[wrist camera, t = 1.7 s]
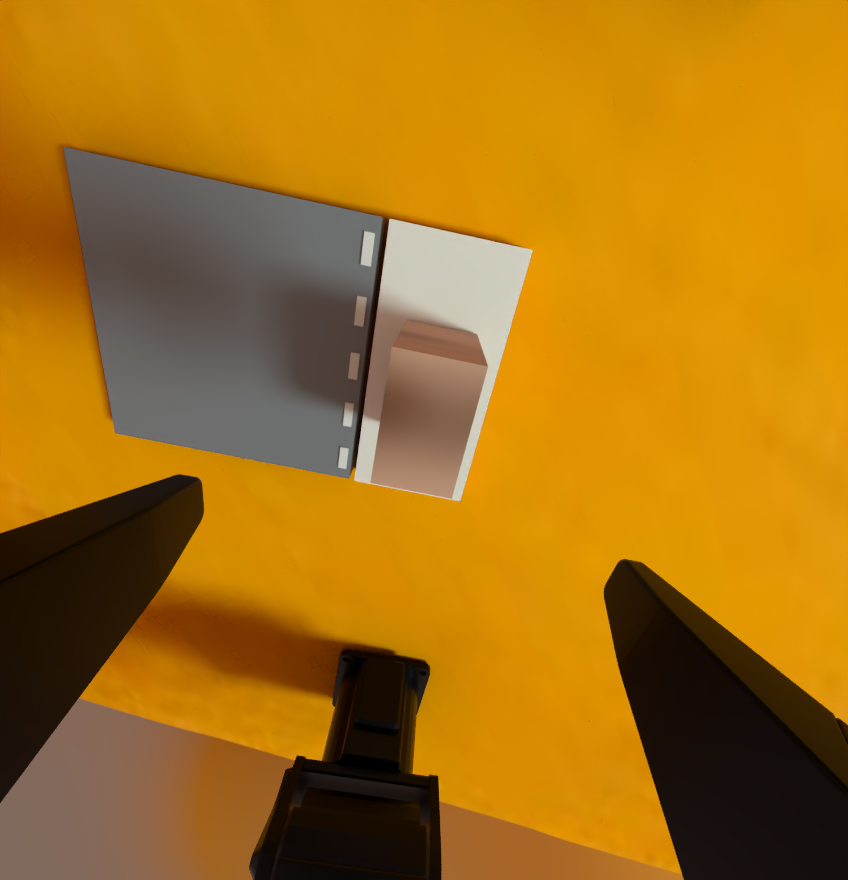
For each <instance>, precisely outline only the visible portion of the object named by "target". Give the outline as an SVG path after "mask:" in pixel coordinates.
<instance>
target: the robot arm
mask: <svg viewBox="0 0 848 880" xmlns="http://www.w3.org/2000/svg"><path fill="white" fill-rule="evenodd" d="M203 514H204V502H203V489H202V482H201V480H200V479H199V478H197V477H192V476H187V475H181V474H179V475H175V476H172V477H169V478H166V479H163V480H160V481H157V482H154V483H151V484H148V485H145V486H142V487H138V488H135V489H132V490H129V491H126V492H123V493H120V494H117V495H114V496H111V497H108V498H105V499H102V500H99V501H96V502H93V503H90V504H87V505H84V506H81V507H78V508H75V509H72V510H69V511H66V512H63V513H60V514H57V515H54V516H51V517H48V518H45V519H42V520H39V521H36V522H33V523H30V524H27V525H24V526H21V527H18V528H15V529H12V530H9V531H6V532H3V533H0V803H1V801H2V800H3V798H4V797H5V796H6V795H7V793H8V792H9V791H10V789H11V788H12V787H13V785H14V784H15V783H16V781H17V780H18V779H19V777H20V776H21V775H22V773H23V772H24V771H25V769H26V768H27V767H28V765H29V764H30V762H31V761H32V760H33V758H34V757H35V755H36V754H37V753H38V752H39V750H40V749H41V748H42V746H43V745H44V744H45V742H46V741H47V740H48V738H49V737H50V736H51V734H52V733H53V732H54V730H55V729H56V728H57V726H58V725H59V724H60V722H61V721H62V720H63V718H64V717H65V716H66V714H67V713H68V712H69V710H70V709H71V707H72V706H73V705H74V704H75V702H76V701H77V699H78V698H79V697H80V695H81V694H82V693H83V691H84V690H85V689H86V687H87V686H88V685H89V683H90V682H91V681H92V679H93V678H94V677H95V675H96V674H97V673H98V671H99V670H100V669H101V667H102V666H103V665H104V663H105V662H106V661H107V659H108V658H109V657H110V655H111V654H112V653H113V651H114V650H115V649H116V647H117V646H118V645H119V643H120V642H121V641H122V639H123V638H124V637H125V635H126V634H127V632H128V631H129V630H130V628H131V627H132V626H133V624H134V623H135V622H136V620H137V619H138V618H139V616H140V615H141V614H142V612H143V611H144V610H145V608H146V607H147V606H148V604H149V603H150V602H151V600H152V599H153V598H154V596H155V595H156V593H157V592H158V591H159V589H160V588H161V586H162V585H163V583H164V582H165V580H166V579H167V577H168V576H169V574H170V572H171V571H172V569H173V567H174V566H175V564H176V562H177V561H178V559H179V557H180V556H181V554H182V552H183V550H184V549H185V547H186V545H187V544H188V542H189V540H190V539H191V537H192V535H193V534H194V532H195V530H196V529H197V527H198V525H199V524H200V522H201V520H202V517H203ZM604 600H605V605H606V609H607V614H608V619H609V624H610V629H611V634H612V639H613V644H614V649H615V653H616V658H617V662H618V666H619V670H620V674H621V677H622V681H623V684H624V687H625V690H626V694H627V697H628V700H629V703H630V707H631V710H632V713H633V716H634V719H635V723H636V726H637V729H638V732H639V736H640V739H641V742H642V745H643V749H644V752H645V755H646V758H647V762H648V765H649V768H650V771H651V774H652V778H653V781H654V784H655V787H656V791H657V794H658V797H659V800H660V804H661V807H662V810H663V813H664V817H665V820H666V823H667V826H668V830H669V833H670V836H671V839H672V842H673V846H674V849H675V852H676V855H677V859H678V862H679V865H680V868H681V872H682V875H683V878H684V880H848V725H847V724H846V723H845V722H843V721H842V720H841V719H839V718H835V716H834V714H833V713H832V712H830V711H829V710H828V709H827V708H825V707H824V706H823V705H822V704H820V703H819V702H818V701H817V700H815V699H814V698H813V697H811V696H810V695H809V694H808V693H806V692H805V691H804V690H803V689H801V688H800V687H799V686H798V685H796V684H795V683H794V682H792V681H791V680H790V679H789V678H787V677H786V676H785V675H784V674H782V673H781V672H780V671H779V670H777V669H776V668H775V667H774V666H772V665H771V664H770V663H768V662H767V661H766V660H765V659H763V658H762V657H761V656H760V655H758V654H757V653H756V652H755V651H753V650H752V649H751V648H749V647H748V646H747V645H746V644H744V643H743V642H742V641H741V640H739V639H738V638H737V637H736V636H734V635H733V634H732V633H731V632H729V631H728V630H727V629H725V628H724V627H723V626H722V625H720V624H719V623H718V622H717V621H715V620H714V619H713V618H712V617H710V616H709V615H708V614H707V613H705V612H704V611H703V610H701V609H700V608H699V607H698V606H696V605H695V604H694V603H693V602H691V601H690V600H689V599H688V598H686V597H685V596H684V595H682V594H681V593H680V592H679V591H677V590H676V589H675V588H674V587H672V586H671V585H670V584H669V583H667V582H666V581H665V580H664V579H662V578H661V577H660V576H658V575H657V574H656V573H655V572H653V571H652V570H651V569H650V568H648V567H647V566H646V565H645V564H643V563H641V562H638V561H633V560H627V559H622V560H620V561H619V562H618V563H617V565H616V567H615V568H614V570H613V572H612V574H611V576H610V577H609V579H608V581H607V583H606V585H605V588H604ZM429 675H430V666H429V665H428V664H425V663H420V662H414V661H408V660H403V659H397V658H391V657H386V656H380V655H374V654H369V653H363V652H358V651H352V650H343V651H341V654H340V657H339V663H338V670H337V676H336V683H335V690H334V696H333V703H332V704H333V706H334V707H335V710H334V714H333V718H332V722H331V726H330V730H329V734H328V738H327V742H326V746H325V750H324V755H323V759H322V761H318V760H311V759H306V757H304V756H297V757H296V760H295V763H294V765H293V767H292V768H289V769H286V770H285V773H284V777H283V780H282V783H281V786H280V789H279V793H278V796H277V799H276V801H275V804H274V807H273V809H272V812H271V814H270V816H269V818H268V821H267V823H266V825H265V828H264V830H263V832H262V834H261V836H260V839H259V841H258V843H257V845H256V848H255V850H254V852H253V855H252V858H251V861H250V865H249V870H250V873H251V875H252V878H253V880H441V836H440V811H439V785H438V776H436V775H429V776H422V775H415V774H412V772H413V757H414V742H415V727H416V715H417V712H418V709H419V706H420V703H421V700H422V697H423V694H424V691H425V688H426V685H427V682H428V679H429Z"/></svg>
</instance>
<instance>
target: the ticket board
mask: <svg viewBox="0 0 848 880" xmlns="http://www.w3.org/2000/svg"><path fill="white" fill-rule="evenodd" d="M63 149H64V155H65V160H66V166H67V171H68V177H69V182H70V188H71V193H72V199H73V204H74V210H75V215H76V221H77V226H78V231H79V237H80V242H81V248H82V253H83V259H84V264H85V270H86V275H87V281H88V286H89V292H90V297H91V303H92V308H93V314H94V319H95V325H96V330H97V336H98V341H99V347H100V352H101V358H102V363H103V369H104V374H105V380H106V385H107V391H108V396H109V402H110V407H111V413H112V418H113V424H114V429H115V433H117V434H122V435H127V436H132V437H137V438H143V439H148V440H153V441H158V442H163V443H168V444H173V445H179V446H184V447H189V448H194V449H199V450H204V451H210V452H215V453H220V454H225V455H230V456H235V457H240V458H246V459H251V460H256V461H261V462H266V463H271V464H277V465H282V466H287V467H292V468H297V469H302V470H307V471H313V472H318V473H323V474H328V475H333V476H338V477H343V478H349V477H350V475H351V473H352V470H353V466H354V459H355V451H356V443H357V436H358V428H359V420H360V413H361V405H362V398H363V390H364V382H365V375H366V367H367V360H368V352H369V344H370V337H371V329H372V321H373V314H374V306H375V299H376V291H377V283H378V276H379V268H380V260H381V253H382V245H383V238H384V230H385V222H386V219H385V218H383V217H380V216H376V215H371V214H367V213H362V212H357V211H353V210H348V209H344V208H339V207H335V206H330V205H326V204H321V203H317V202H312V201H308V200H303V199H298V198H294V197H289V196H285V195H280V194H276V193H271V192H267V191H262V190H258V189H253V188H249V187H244V186H239V185H235V184H230V183H226V182H221V181H217V180H212V179H208V178H203V177H199V176H194V175H190V174H185V173H180V172H176V171H171V170H167V169H162V168H158V167H153V166H149V165H144V164H140V163H135V162H131V161H126V160H121V159H117V158H112V157H108V156H103V155H99V154H94V153H90V152H85V151H81V150H76V149H72V148H67V147H63Z"/></svg>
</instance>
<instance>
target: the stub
mask: <svg viewBox="0 0 848 880" xmlns="http://www.w3.org/2000/svg"><path fill="white" fill-rule="evenodd" d="M532 251H533V250H530V249H526V248H521V247H517V246H512V245H508V244H503V243H499V242H494V241H490V240H485V239H480V238H476V237H471V236H467V235H462V234H458V233H453V232H449V231H444V230H440V229H435V228H431V227H426V226H421V225H417V224H412V223H408V222H403V221H399V220H394V219H390V220H389V227H388V234H387V242H386V249H385V257H384V264H383V272H382V279H381V286H380V294H379V301H378V309H377V316H376V323H375V331H374V338H373V346H372V353H371V360H370V368H369V375H368V383H367V390H366V397H365V405H364V412H363V420H362V427H361V435H360V442H359V449H358V457H357V464H356V472H355V479H354V481H358V482H364V483H369V484H374V485H379V486H384V487H389V488H394V489H400V490H405V491H410V492H415V493H420V494H425V495H431V496H436V497H441V498H446V499H451V500H456V501H460V500H461V497H462V493H463V490H464V486H465V483H466V479H467V476H468V472H469V469H470V465H471V462H472V459H473V455H474V452H475V448H476V445H477V441H478V438H479V434H480V431H481V427H482V424H483V420H484V417H485V414H486V410H487V407H488V403H489V400H490V396H491V393H492V389H493V386H494V382H495V379H496V375H497V372H498V369H499V365H500V362H501V358H502V355H503V351H504V348H505V344H506V341H507V337H508V334H509V330H510V327H511V324H512V320H513V317H514V313H515V310H516V306H517V303H518V299H519V296H520V292H521V289H522V285H523V282H524V279H525V275H526V272H527V268H528V265H529V261H530V258H531V254H532Z"/></svg>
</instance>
